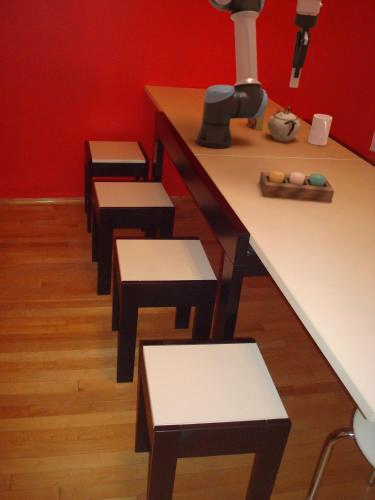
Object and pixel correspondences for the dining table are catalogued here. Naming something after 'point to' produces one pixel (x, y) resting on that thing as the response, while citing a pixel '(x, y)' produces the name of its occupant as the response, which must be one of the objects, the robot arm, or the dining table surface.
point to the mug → (320, 129)
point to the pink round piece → (297, 178)
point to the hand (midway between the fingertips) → (293, 86)
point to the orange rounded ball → (276, 176)
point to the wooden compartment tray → (295, 189)
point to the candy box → (256, 122)
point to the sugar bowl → (284, 125)
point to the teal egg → (317, 180)
